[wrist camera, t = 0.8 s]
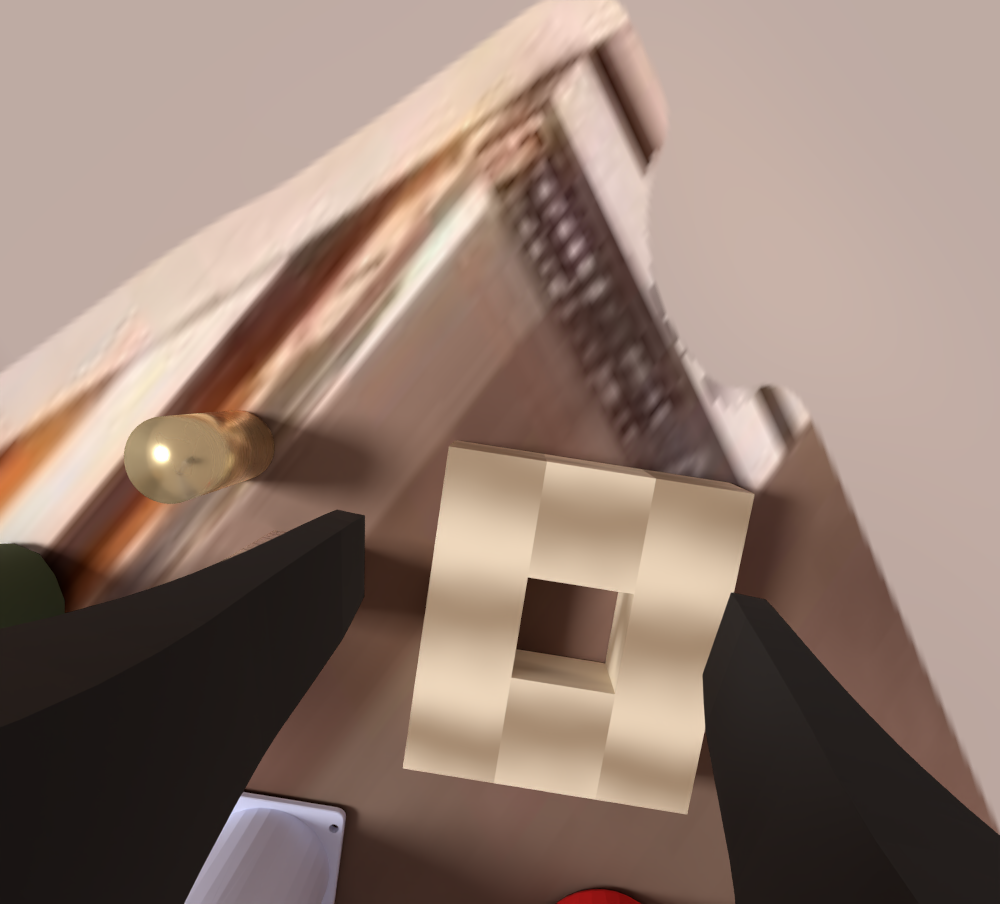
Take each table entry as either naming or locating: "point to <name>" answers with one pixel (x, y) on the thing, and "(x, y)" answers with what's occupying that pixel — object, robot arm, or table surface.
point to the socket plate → (562, 680)
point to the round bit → (196, 454)
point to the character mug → (27, 587)
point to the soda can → (597, 897)
